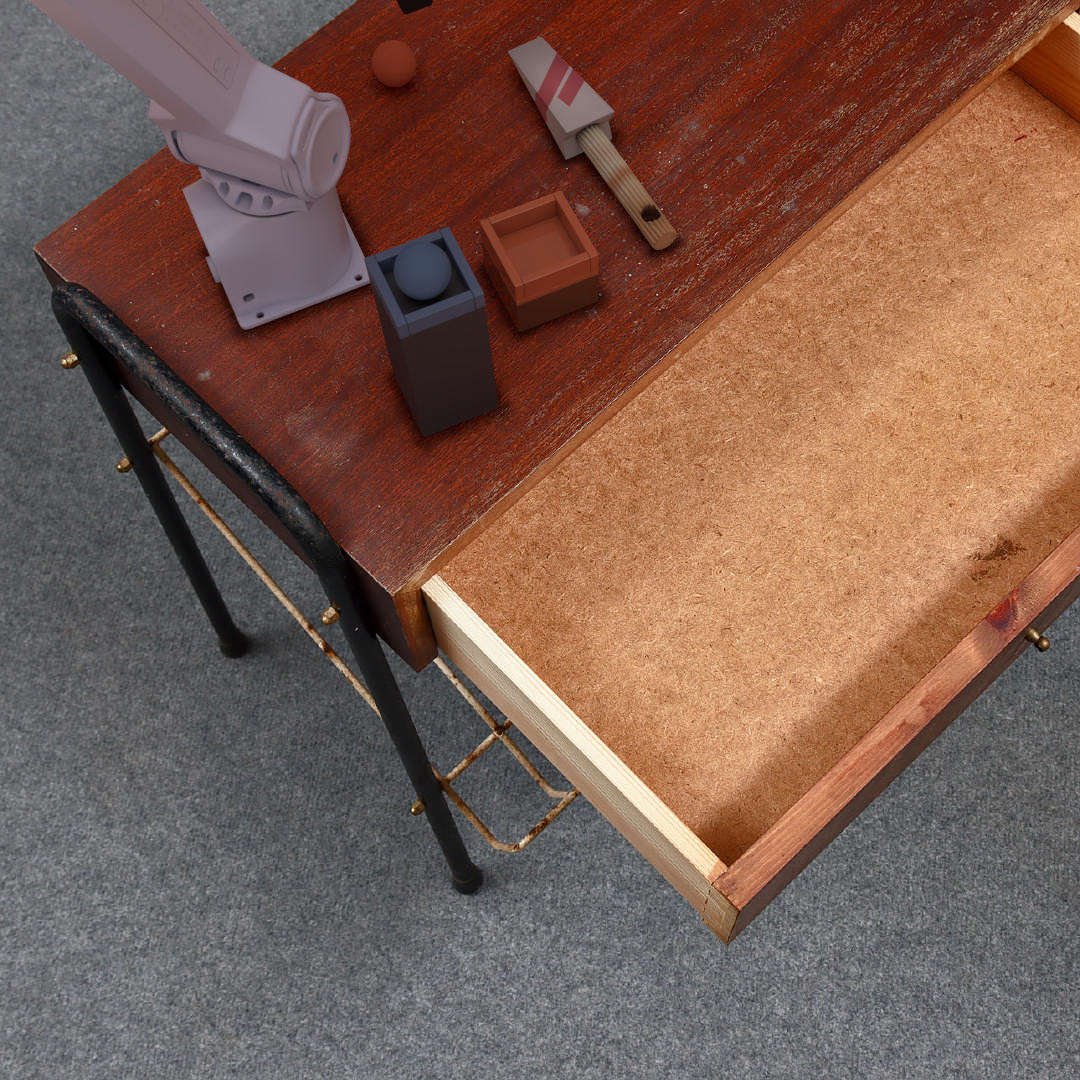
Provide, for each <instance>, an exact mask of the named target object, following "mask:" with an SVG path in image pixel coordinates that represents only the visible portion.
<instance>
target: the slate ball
mask: <svg viewBox="0 0 1080 1080" xmlns="http://www.w3.org/2000/svg"><path fill="white" fill-rule="evenodd" d="M394 277H395V281H396V283H397V285H398V287H399V288H400V289H401V291H402V292H403V293H404V294H406V295H407V296H409V297H411V298H413V299H416V300H430V299H433V298H435V297H437V296H439V295H440V294H442V293H443V292H444V290H445V289H446V288H447V286H448V284H449V282H450V279H451V265H450V261H449V259H448V257H447V255H446V254H445V252H444V251H443V250H442V249H441V248H439V247H438V246H436V245H435V244H432V243H429V242H415V243H412V244H409V245H408V246H406V247H405V248H404V249H402V250H401V252H400V253H399V254H398V256H397V258H396V260H395V264H394Z"/></svg>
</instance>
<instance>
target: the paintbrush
mask: <svg viewBox="0 0 1080 1080" xmlns="http://www.w3.org/2000/svg"><path fill="white" fill-rule="evenodd" d="M507 53H508V55H509V57H510V59H511V61H512V63H513V64H514V65H515V68H516V71H518V74H519V76H520V78H522V81H523V84H524V85H525V86H526V88H527V90H528V92H529V93H530V96H531V98H532V100H533V101H534V103H535V105H536V107H537V109H538V111H539V113H540V114H541V116H542V118H543V121H544V122H545V124H546V127H548V129H549V131H550V133H551V135H552V137H553V139H554V141H555V143H556V145H557V146H558V148H559V150H560V152H561V153H562V156H563V157H564V159H565V161H567V160H569V159H571V158H574V157H576V156H579V155H580V154H582V153H584V154H585V155H586V157H587V158H588V159H589V160H590V162H591V163H592V165H593V167H595V169H596V170H597V172H598V173H599V174H600V176H601V177H602V179H603V180H604V182H605V183H606V184H607V186H608V187H609V188H610V190H611V191H612V192H613V194H614V195H615V197H616V199H618V201H619V202H620V204H621V205H622V206H623V208H624V209H625V211H626V212H627V214H629V216H630V217H631V220H633V222H634V224H636V226H637V227H638V229H639V230H640V232H641V233H642V234H643V236H644V238H645V239H646V240H647V242H648V243H649V245H650V246H651V247H652V249H653V250H656V251H659V250H660V251H662V250H663V249H666V248H667V247H670V246H671V244H673V243H674V241H675V240H676V239H677V236H678V234H677V231H676V229H675V228H674V226H672V224H671V223H670V221H669V220H668V218H667V217H666V216H665V214H664V213H663V212H662V211H661V209H660V207H658V206H657V204H656V203H655V201H654V200H653V199H652V197H651V196H650V194H649V193H648V191H647V190H646V188H645V187H644V186H643V184H642V183H641V182H640V180H639V179H638V178H637V176H636V175H635V174H634V172H633V171H632V169H631V167H629V165H628V164H627V162H626V161H625V159H624V158H623V157H622V156H621V154H620V153H619V152H618V150H617V149H616V147H615V146H614V144H613V143H612V142H611V140H613V136H612V135H613V134H612V129H611V125H610V120H611V118H612V116H613V115H614V113H615V110H614V109H613V108H612V106H610V105H609V104H608V103H607V102H606V101H605V100H604V99H603V98H602V97H601V96H600V95H599V94H598V93H597V92H596V91H595V90H594V89H593V88H592V87H591V86H590V85H589V84H588V83H587V81H585V80H584V79H583V78H582V77H581V76H580V75H579V74H578V73H577V71H576V70H574V69H573V68H572V66H571V65H570V64H569V63H568V62H567V61H566V60H565V59H564V58H562V56H561V55H560V54H559V53H558V52H557V51H556V50H555V49H554V48H553V47H552V46H551V45H550V44H549V43H548V42H547V41H546V40H545V39H544V38H543V37H542V36H539V37H536V38H535V39H533V40H530V41H528V42H525V43H523V44H521V45H518V46H516V47H513V48H512V49H510V50H507ZM650 220H652V221H650Z"/></svg>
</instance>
